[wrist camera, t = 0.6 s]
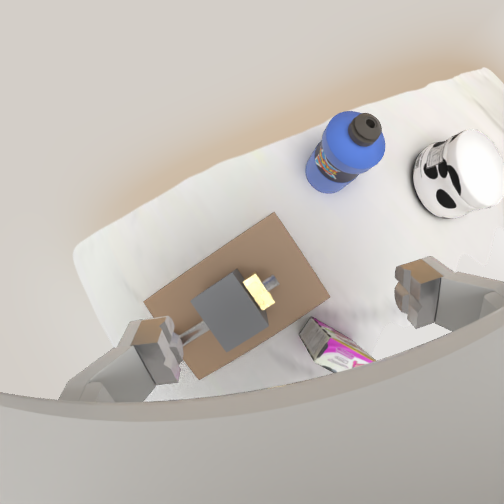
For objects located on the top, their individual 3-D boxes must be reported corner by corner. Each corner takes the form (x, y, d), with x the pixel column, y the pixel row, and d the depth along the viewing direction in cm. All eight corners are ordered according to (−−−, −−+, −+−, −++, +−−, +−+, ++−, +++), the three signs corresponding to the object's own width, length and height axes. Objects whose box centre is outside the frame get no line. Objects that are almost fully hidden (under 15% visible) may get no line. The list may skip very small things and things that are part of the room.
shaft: (281, 287, 51) (286, 293, 43) (171, 356, 51) (159, 372, 43) (268, 268, 51) (271, 271, 43) (159, 339, 51) (144, 353, 43)
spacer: (272, 297, 52) (274, 302, 46) (261, 304, 52) (262, 310, 46) (255, 271, 52) (255, 273, 46) (244, 278, 52) (242, 282, 46)
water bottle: (333, 144, 57) (376, 84, 32) (356, 182, 57) (414, 141, 32) (296, 162, 57) (323, 104, 32) (319, 201, 57) (363, 167, 32)
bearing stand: (329, 296, 57) (349, 307, 44) (199, 378, 57) (187, 407, 44) (274, 212, 57) (279, 201, 44) (144, 300, 57) (118, 312, 44)
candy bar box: (353, 338, 57) (384, 365, 40) (340, 358, 57) (366, 391, 40) (310, 313, 57) (331, 336, 41) (297, 334, 57) (312, 363, 41)
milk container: (468, 214, 57) (517, 205, 39) (418, 226, 57) (467, 218, 39) (450, 147, 57) (493, 124, 39) (398, 152, 57) (440, 122, 39)
